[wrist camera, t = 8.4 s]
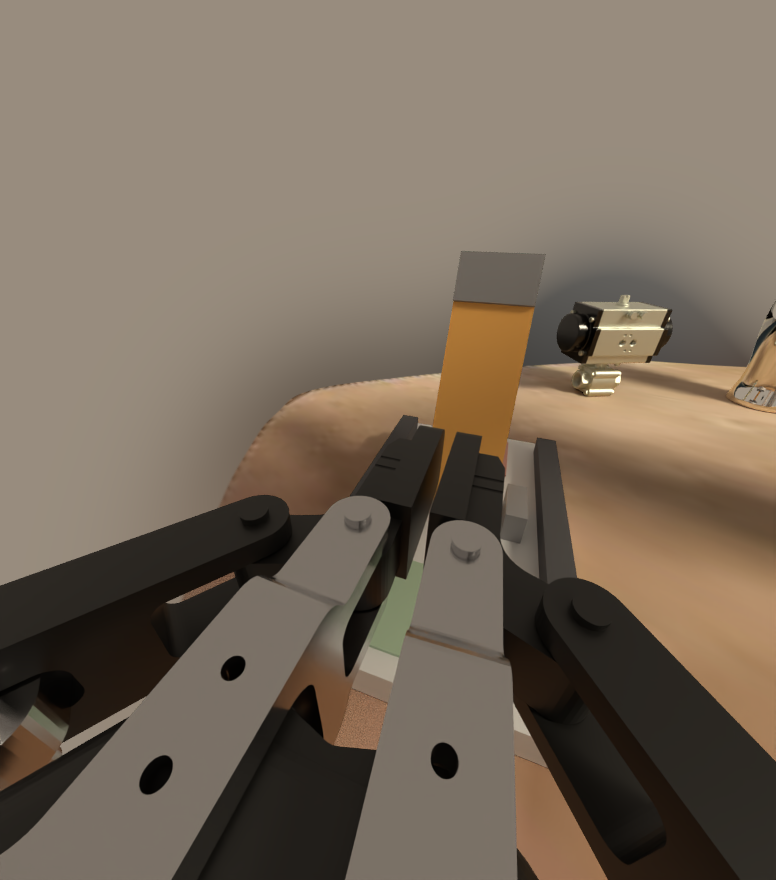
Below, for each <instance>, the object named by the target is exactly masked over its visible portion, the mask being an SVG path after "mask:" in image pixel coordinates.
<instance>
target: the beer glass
mask: <svg viewBox="0 0 776 880" xmlns="http://www.w3.org/2000/svg"><path fill="white" fill-rule="evenodd" d="M726 396H727V398H728V399H729V400H731V401H733V402H735V403H737V404H739V405H742V406H745V407H748V408H751V409H755V410H760V411H765V412H772V413H776V301H775V302H774V304H773V305H772V307H771V309H770V311H769V313H768V314H767V316H766V318H765V320H764V322H763V325H762V327H761V330H760V332H759V335H758V338H757V341H756V344H755V347H754V350H753V353H752V356H751V359H750V361H749V364H748V366H747V368H746V370H745V371H744V373H743V375H742V376H741V377H740V379H739V380H738V381H737V382H736V383H735V385H734V386H733V387H732V388H731V389H730V390H729V391H728V393H727V395H726Z"/></svg>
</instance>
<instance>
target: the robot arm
mask: <svg viewBox="0 0 776 880" xmlns="http://www.w3.org/2000/svg"><path fill="white" fill-rule="evenodd" d="M444 437H445V430H444V429H440V428H434V427H429V426H423V425H420V426H419V427H418V429H417V431H416V433H415V435H414V436H413V438H412V440H408V439H403V438H399V439H397V440H395V441H394V442H392V443H390V444H389V445H387V447H386V448H385V450H384V451H383V453H382V454H381V457H380V458H379V459H378V461H377V462H376V464H375V466H374V467H373V468H372V470H371V471H370V473H369V475H368V476H367V478H366V479H365V481H364V482H363V484H362V485H361V487H360V488H359V490H358V492H357V493H356V495H355V496H352V497H347V498H344V499H341V500H339V501H338V502H336V503H335V504H333V505H332V506H331V507H330V508H329V509H328V511H327V512H326V513H325V514H323V515H290V514H289V508H288V506H287V504H286V503H285V501H283V500H282V499H280V498H278V497H275V496H270V495H258V496H252V497H249V498H245V499H243V500H240V501H237V502H234V503H231V504H229V505H226V506H223V507H220V508H217V509H215V510H212V511H209V512H206V513H203V514H200V515H198V516H195V517H192V518H189V519H186V520H184V521H181V522H178V523H175V524H172V525H170V526H167V527H164V528H161V529H158V530H156V531H153V532H150V533H147V534H145V535H141V536H139V537H136V538H133V539H130V540H127V541H125V542H122V543H119V544H116V545H113V546H111V547H108V548H105V549H102V550H99V551H97V552H94V553H91V554H88V555H85V556H83V557H80V558H77V559H74V560H71V561H68V562H66V563H63V564H60V565H57V566H55V567H52V568H49V569H46V570H43V571H40V572H38V573H35V574H32V575H29V576H26V577H24V578H21V579H18V580H15V581H12V582H9V583H7V584H4V585H1V586H0V880H539V879H538V878H537V876H536V875H535V873H534V871H533V870H532V868H531V867H530V865H529V864H528V862H527V861H526V859H525V858H524V857H523V855H522V854H521V853H520V851H519V850H518V849H517V846H516V804H515V762H514V720H513V703H514V705H515V707H516V709H517V711H518V713H519V714H520V716H521V718H522V720H523V722H524V724H525V726H526V728H527V729H528V731H529V733H530V735H531V737H532V739H533V741H534V742H535V744H536V746H537V748H538V750H539V752H540V754H541V756H542V757H543V759H544V761H545V763H546V765H547V767H548V769H549V770H550V772H551V774H552V776H553V778H554V780H555V782H556V784H557V785H558V787H559V789H560V791H561V793H562V795H563V797H564V798H565V800H566V802H567V804H568V806H569V808H570V810H571V812H572V813H573V815H574V817H575V819H576V821H577V823H578V825H579V826H580V828H581V830H582V832H583V834H584V836H585V838H586V839H587V841H588V843H589V845H590V847H591V849H592V851H593V853H594V854H595V856H596V858H597V860H598V862H599V864H600V866H601V867H602V869H603V871H604V873H605V875H606V877H607V879H608V880H776V761H775V760H774V759H773V758H772V757H771V756H770V755H769V754H768V753H767V752H766V751H765V750H764V749H763V748H762V747H761V746H760V745H759V744H758V743H757V742H756V741H755V740H754V739H753V738H752V737H751V736H750V735H749V734H748V732H747V731H746V730H745V729H744V728H743V727H742V726H741V725H740V724H739V723H738V722H737V721H736V720H735V719H734V718H733V717H732V716H731V715H730V714H729V713H728V712H727V711H726V710H725V709H724V708H723V707H722V706H721V705H720V704H719V703H718V702H717V701H716V699H715V698H714V697H713V696H712V695H711V694H710V693H709V692H708V691H707V690H706V689H705V688H704V687H703V686H702V685H701V684H700V683H699V682H698V681H697V680H696V679H695V678H694V677H693V676H692V675H691V674H690V673H689V672H688V671H687V670H686V669H685V667H684V666H683V665H682V664H681V663H680V662H679V661H678V660H677V659H676V658H675V657H674V656H673V655H672V654H671V653H670V652H669V651H668V650H667V649H666V648H665V647H664V646H663V645H662V644H661V643H660V642H659V641H658V640H657V639H656V638H655V637H654V636H653V634H652V633H651V632H650V631H649V630H648V629H647V628H646V627H645V626H644V625H643V624H642V623H641V622H640V621H639V620H638V619H637V618H636V617H635V616H634V615H633V614H632V613H631V612H630V611H629V610H628V609H627V608H626V607H625V606H624V605H623V604H622V603H621V602H620V601H619V600H618V599H617V598H616V597H615V596H614V595H612V594H611V593H610V592H608V591H607V590H605V589H604V588H602V587H600V586H598V585H596V584H594V583H592V582H589V581H587V580H583V579H579V578H572V577H567V578H560V579H557V580H554V581H553V582H551V583H550V584H548V583H546V582H544V581H542V580H540V579H539V578H537V577H535V576H533V575H531V574H529V573H528V572H526V571H524V570H523V569H521V568H520V567H519V566H518V565H516V564H515V563H514V562H513V561H512V560H511V559H510V558H509V556H508V555H507V554H506V552H505V551H504V549H503V546H502V544H501V540H500V531H501V518H502V505H503V492H504V479H505V467H504V466H503V464H502V462H501V460H500V459H499V457H498V456H492V455H487V454H482V453H479V451H480V446H481V440H482V436H480V435H474V434H468V433H463V432H456V435H455V438H454V441H453V444H452V447H451V450H450V453H449V456H448V459H447V462H446V465H445V468H444V471H443V474H442V477H441V480H440V483H439V485H438V482H439V476H440V469H441V461H442V453H443V445H444ZM437 486H438V488H437ZM436 490H437V491H436ZM435 493H436V494H435ZM434 496H435V497H434ZM433 499H434V500H433ZM432 502H433V503H432ZM431 505H432V506H431ZM430 508H431V509H430ZM429 511H430V512H429ZM428 514H429V521H428V530H427V539H426V548H425V557H424V565H423V573H422V578H421V582H420V586H419V591H418V595H417V599H416V603H415V608H414V612H413V616H412V620H411V624H410V627H409V629H407V631H406V634H405V637H404V641H403V644H402V648H401V652H400V656H399V660H398V664H397V669H396V673H395V677H394V681H393V685H392V689H391V693H390V697H389V702H388V706H387V710H386V714H385V718H384V722H383V726H382V730H381V734H380V739H379V743H378V747H377V750H370V749H360V748H349V747H339V746H334V743H335V740H336V738H337V735H338V733H339V730H340V728H341V725H342V722H343V719H344V716H345V712H346V708H347V704H348V699H349V695H350V691H351V688H352V685H353V682H354V680H355V677H356V675H357V673H358V670H359V668H360V666H361V663H362V661H363V659H364V656H365V654H366V652H367V650H368V647H369V645H370V643H371V640H372V638H373V636H374V633H375V631H376V629H377V626H378V624H379V622H380V619H381V617H382V615H383V612H384V610H385V608H386V605H387V600H388V594H389V592H390V589H391V587H392V584H393V581H394V579H395V576H396V577H399V578H402V579H407V576H408V573H409V570H410V567H411V564H412V561H413V558H414V555H415V552H416V549H417V546H418V543H419V540H420V537H421V535H422V532H423V529H424V526H425V523H426V520H427V517H428ZM232 572H234V573H235V578H233V579H231V580H228V581H226V582H224V583H222V584H220V585H218V586H215V587H213V588H211V589H209V590H207V591H205V592H202V593H200V594H198V595H196V596H194V597H191V598H189V599H187V600H185V601H183V602H180V603H176V604H168V603H166V602H167V601H170V600H172V599H174V598H176V597H178V596H181V595H183V594H185V593H187V592H190V591H192V590H194V589H196V588H198V587H201V586H203V585H205V584H207V583H209V582H212V581H214V580H216V579H218V578H221V577H223V576H225V575H227V574H229V573H232ZM147 695H148V696H147ZM145 696H147V697H146V698H145V699H144V701H143V702H142V703H141V704H140V705H139V706H138V707H137V709H136V710H135V711H134V712H133V713H132V714H131V716H130V717H128V718H127V719H124V720H123V721H121V722H119V723H118V724H116V725H114V726H112V727H111V728H109V729H107V730H106V731H104V732H102V733H100V734H99V735H97V736H95V737H93V738H92V739H90V740H88V741H86V742H85V743H83V744H81V745H80V746H78V747H77V748H74V749H73V750H71V751H69V752H68V753H66V754H64V755H62V750H61V748H60V745H61V743H63V742H65V741H66V740H68V739H70V738H72V737H74V736H75V735H77V734H79V733H81V732H83V731H84V730H86V729H88V728H90V727H92V726H93V725H95V724H97V723H99V722H101V721H102V720H104V719H106V718H108V717H110V716H111V715H113V714H115V713H117V712H118V711H120V710H122V709H124V708H126V707H128V706H129V705H131V704H133V703H135V702H137V701H138V700H140V699H142V698H144V697H145Z"/></svg>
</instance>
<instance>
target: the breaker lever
mask: <svg viewBox="0 0 776 880" xmlns="http://www.w3.org/2000/svg"><path fill="white" fill-rule="evenodd" d="M544 260H545V254H526V253H498V252H470V251H461V255H460V262H459V267H458V273H457V280H456V285H455V292H454V297H453V301H454V302H453V308H452V314H451V320H450V326H449V332H448V338H447V345H446V350H445V356H444V362H443V368H442V374H441V380H440V386H439V392H438V398H437V404H436V410H435V416H434V422H433V427H434V428H440V429H444V430H445V437H444V445H443V453H442V461H441V469H440V476H439V482H438V485H439V483H440V480H441V477H442V474H443V471H444V468H445V465H446V462H447V459H448V456H449V453H450V450H451V447H452V444H453V441H454V438H455V435H456V432H463V433H468V434H474V435H480V436H482V440H481V446H480V451H479V453H482V454H487V455H492V456H498V457H499V459H500V460H501V462H502V464H503V459H504V454H505V449H506V444H507V439H508V434H509V429H510V424H511V420H512V415H513V410H514V405H515V400H516V395H517V390H518V385H519V380H520V376H521V371H522V366H523V361H524V356H525V351H526V346H527V341H528V336H529V331H530V326H531V321H532V316H533V312H534V307H535V303H536V298H537V294H538V289H539V284H540V279H541V274H542V270H543V265H544ZM437 488H438V486H437ZM436 491H437V490H436ZM435 494H436V493H435ZM434 497H435V496H434ZM433 500H434V499H433ZM432 503H433V502H432Z"/></svg>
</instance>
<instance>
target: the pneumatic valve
mask: <svg viewBox="0 0 776 880" xmlns="http://www.w3.org/2000/svg"><path fill="white" fill-rule="evenodd" d="M629 298H630V296H629V295H621V296H620V300H619V302H575V305H574V308H573V310H572V311H571V312H570V314H567V315H566V316H565V317H564V318H563V319H562V320H561V322H560V324H559V327H558V331H557V343H558V345H559V348H560V349H561V352H562V353H563V354H565V355H567V356H569V357H570V358H572V359H574V360H575V361H578V362H579V363H581V365H579V367H578V369H579V370H578V371H576V372H575V373H574V374H573V377H572V385H573V387H574V388H576V389H579V390H580V391H582V392H583V394H584V395H585V396H610V395H611V394H613V393H614V390H613V388H615V387H617V386H618V385H619V383H620V380H621V377H620V375H621V372H620V371H619V370H613V369H612V368H610V367H609V366H608V365H607V364H614V365H615V366H620V364H621V363H650V361H651V359H652V356H656V355H658V353H659V351H660V349H661V348H662V347H663V346H664V345H665V344H666V343H667V342H668V340H669V339H670V337H671V334H672V329H673V325H672V321H671V319H670V318H669V317H670V314H671V312H672V309H668V308H664V307H660V306H656V305H652V304H648V303H644V302H628V301H629Z"/></svg>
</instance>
